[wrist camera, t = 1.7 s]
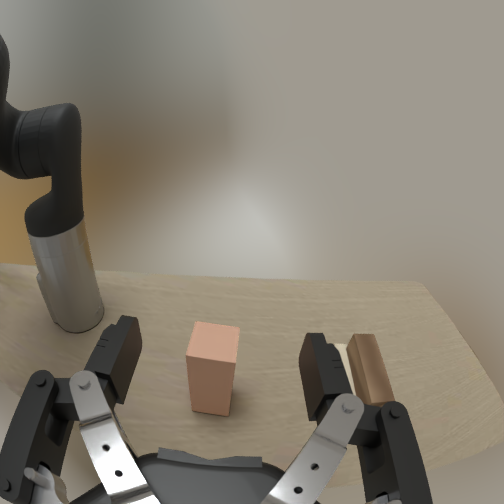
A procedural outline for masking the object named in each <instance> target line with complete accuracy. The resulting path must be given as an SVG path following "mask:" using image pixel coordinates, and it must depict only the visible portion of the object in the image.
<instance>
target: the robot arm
mask: <svg viewBox="0 0 504 504" xmlns="http://www.w3.org/2000/svg"><path fill="white" fill-rule="evenodd" d="M9 69H10V61H9V53H8V49H7V46H6V44H5V42H4V40H3V38H2V37H1V35H0V170H2V171H3V172H5V173H7V174H9V175H10V176H12V177H15V178H18V179H32V178H38V177H45V176H52V189H51V191H50V192H49V193H48V194H46V195H44V196H42V197H41V198H39V199H37V200H36V201H34V202H33V203H32V204H31V205H30V206H29V207H28V208H27V209H26V211H25V224H26V228H27V232H28V236H29V240H30V244H31V248H32V251H33V255H34V258H35V261H36V264H37V268H38V271H39V273H38V275H37V277H36V278H37V282H38V284H39V287H40V290H41V293H42V295H43V298H44V300H45V303H46V305H47V308H48V310H49V312H50V315H51V317H52V319H53V322H54V323H58V324H59V325H60V326H61V328H63V329H64V330H66V331H69V332H74V333H75V332H84V331H86V330H89V329H91V328H93V327H94V326H95V325H97V324H98V323H99V321H100V320H101V318H102V317H103V313H104V307H103V304H102V299H101V296H100V292H99V288H98V284H97V280H96V276H95V272H94V268H93V263H92V259H91V253H90V248H89V243H88V237H87V232H86V225H85V218H84V211H83V201H82V181H81V119H80V114H79V111H78V109H77V107H76V106H75V105H74V104H71V103H64V104H58V105H53V106H48V107H43V108H39V109H34V110H31V111H19V110H17V109H15V108H14V107H12V106H11V105H10V104H9V103H8V102H7V101H6V93H7V88H8V79H9ZM141 350H142V338H141V333H140V328H139V323H138V319H137V318H136V317H130V316H124V315H122V316H121V317H120V319H119V320H118V322H117V324H116V325H114V324H111V325H110V326H108V327H107V328H106V329H105V330H104V331H103V333H102V335H101V337H100V340H99V341H98V342H97V344H96V346H95V348H94V350H93V352H92V354H91V356H90V358H89V360H88V362H87V364H86V367H85V368H84V370H83V371H79V372H77V373H75V374H74V375H73V376H72V377H71V378H54V377H53V375H52V374H51V373H50V372H49V371H46V370H39V371H37V372H35V373H34V374H33V375H32V376H31V377H30V379H29V381H28V383H27V386H26V388H25V390H24V392H23V394H22V397H21V399H20V402H19V404H18V406H17V409H16V411H15V413H14V416H13V418H12V421H11V423H10V426H9V429H8V432H7V434H6V437H5V441H4V443H3V446H2V450H1V453H0V496H1V497H2V498H3V499H5V500H7V501H9V502H11V503H13V504H320V503H319V502H318V501H317V498H318V497H319V495H320V494H321V492H322V491H323V489H324V488H325V486H326V485H327V483H328V482H329V480H330V478H331V477H332V475H333V474H334V472H335V470H336V469H337V467H338V465H339V463H340V462H341V460H342V458H343V456H344V455H345V453H346V450H347V448H346V446H347V444H352V445H357V448H358V454H359V460H360V466H361V472H362V478H363V484H364V491H365V498H366V503H365V504H433V502H432V497H431V493H430V488H429V484H428V480H427V476H426V472H425V468H424V464H423V460H422V457H421V453H420V450H419V446H418V443H417V440H416V436H415V433H414V430H413V427H412V424H411V421H410V418H409V415H408V412H407V409H406V408H405V407H404V405H402V404H401V403H399V402H396V401H389V402H387V403H385V404H384V405H383V406H382V407H379V406H373V405H367V404H364V403H363V402H362V400H361V399H360V398H359V397H357V396H356V395H354V394H353V392H352V389H351V386H350V383H349V380H348V376H347V373H346V370H345V368H344V364H343V361H342V358H341V355H340V352H339V351H338V349H337V348H336V347H335V346H334V345H333V344H327V343H326V340H325V336H324V334H323V333H307V334H306V336H305V339H304V342H303V345H302V348H301V351H300V355H299V368H300V374H301V379H302V385H303V390H304V396H305V401H306V407H307V412H308V418H309V421H317V428H316V429H315V431H314V432H313V434H312V435H311V437H310V438H309V440H308V441H307V442H306V444H305V445H304V447H303V448H302V450H301V451H300V452H299V454H298V455H297V456H296V458H295V459H294V460H293V462H292V463H291V464H290V466H289V467H288V468H287V469H286V471H285V472H284V471H283V470H281V469H280V468H278V467H276V466H273V465H271V464H268V463H264V462H262V457H244V456H235V457H229V458H222V459H215V460H207V459H204V458H201V457H198V456H195V455H192V454H189V453H186V452H184V451H177V450H171V449H165V448H160V447H159V450H158V453H150V454H146V455H142V456H140V457H138V455H137V454H136V452H135V450H134V448H133V447H132V445H131V444H130V442H129V440H128V438H127V436H126V434H125V432H124V430H123V428H122V426H121V424H120V422H119V420H118V417H117V415H116V413H115V411H114V407H115V404H116V403H119V404H124V401H125V398H126V394H127V391H128V388H129V385H130V382H131V379H132V376H133V373H134V370H135V367H136V365H137V362H138V359H139V356H140V353H141ZM74 421H80V423H81V424H79V428H80V432H81V434H82V437H83V440H84V442H85V445H86V447H87V450H88V452H89V455H90V457H91V459H92V462H93V464H94V466H95V468H96V470H97V473H98V474H99V477H100V479H101V481H102V482H101V483H100V484H98V485H97V486H95V487H94V488H92V489H91V490H89V491H88V492H86V493H85V494H83V495H81V496H80V497H78V498H77V499H75V500H73V501H72V502H70V503H69V501H68V500H67V496H66V486H65V484H64V482H63V480H62V479H61V478H60V474H61V469H62V465H63V460H64V456H65V452H66V448H67V445H68V441H69V437H70V434H71V430H72V427H73V424H74Z"/></svg>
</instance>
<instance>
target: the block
mask: <svg viewBox="0 0 504 504" xmlns="http://www.w3.org/2000/svg"><path fill="white" fill-rule="evenodd" d="M239 331H240V327H232V326H225V325H218V324H211V323H205V322H198V321H196V322H195V325H194V329H193V332H192V335H191V339H190V342H189V346H188V349H187V353H186V362H187V372H188V381H189V390H190V398H191V406H192V411H197V412H203V413H209V414H215V415H223V416H229V408H230V401H231V393H232V386H233V379H234V371H235V364H236V356H237V348H238V339H239Z"/></svg>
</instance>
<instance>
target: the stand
mask: <svg viewBox="0 0 504 504" xmlns="http://www.w3.org/2000/svg"><path fill="white" fill-rule="evenodd" d="M334 346H335V347H336V348H337V349H338V351H339V352H340V355H341V358H342V361H343V364H344V368H345V370H346V373H347V376H348V380H349V383H350V386H351V389H352V392H353V394H354V395H356V396H357V397H359V398H360V399H361V400H362V402H363V403H364V404H367V405H373V406H379V407H382V406H383V405H384V404H385V403H387V402H389V401H395V399H394V395H393V392H392V389H391V385H390V382H389V378H388V375H387V372H386V369H385V366H384V362H383V359H382V356H381V353H380V350H379V347H378V344H377V341H376V339H375V336H374V334H353V336H352V338H351V340H350V342H349V344H334Z"/></svg>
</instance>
